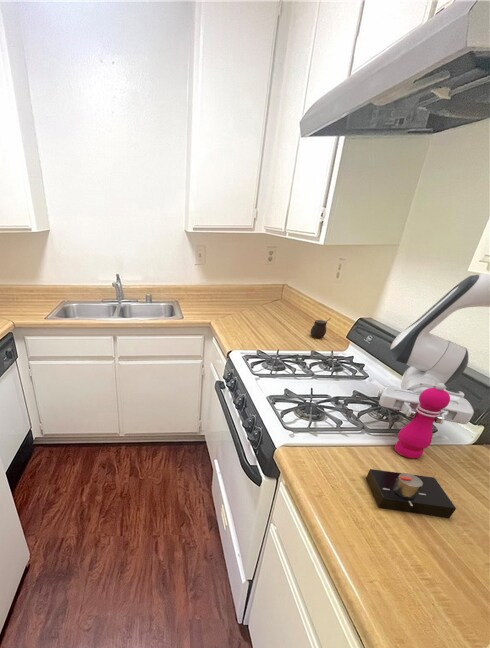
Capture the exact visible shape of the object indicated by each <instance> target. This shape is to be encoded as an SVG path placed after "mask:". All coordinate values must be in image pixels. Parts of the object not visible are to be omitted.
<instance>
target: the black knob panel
mask: <svg viewBox="0 0 490 648" xmlns="http://www.w3.org/2000/svg"><path fill="white" fill-rule="evenodd" d="M402 473H403V472H395V471H389V470H388V471H387V470H380V469H374V468H370V469H369V470H368V472H367V474H366V477H365V480H366V483H367V484H368V487H369V489H370V491H371V494H372V496H373V498H374V501H375V504H376V505H377V508H378V509H383V510H390V511H395V512H396V511H397V512H402V513H403V512H404V513H410V514H416V515H424V516H432V517H438V518H445V519H450V518H451V517H452V516H453V514H454V512H455V511H456V510H457V507H456V506H455V504H454V503H453V501H452V500H451V499H450V497H449V496H448V494H447V493H446V491H445V490H444V489H443V487H442V486H441V484H440V483H439V481H438V480H437V479H436V477H434V476H427V475H419V474H413V475H414V476H416V477H418V478H419V479H420V480H421V481H422V482H423V485H422V487H421V488H420V490H419V492H418V494H417V495H416V497H415V498H413V499H406V498H403V497H401V496H399V495H397V494H396V493H395V492H394V491H393V486H394V484H395V482H396V480H397V478H398V476H399V475H400V474H402Z"/></svg>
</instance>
